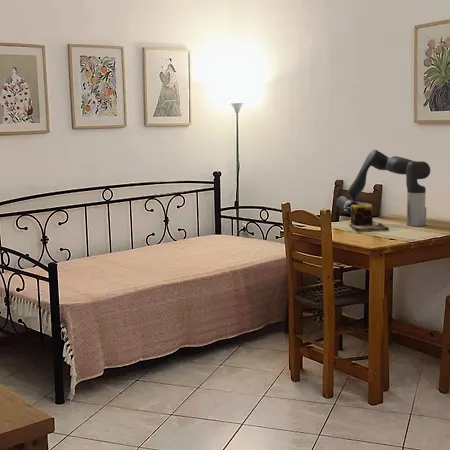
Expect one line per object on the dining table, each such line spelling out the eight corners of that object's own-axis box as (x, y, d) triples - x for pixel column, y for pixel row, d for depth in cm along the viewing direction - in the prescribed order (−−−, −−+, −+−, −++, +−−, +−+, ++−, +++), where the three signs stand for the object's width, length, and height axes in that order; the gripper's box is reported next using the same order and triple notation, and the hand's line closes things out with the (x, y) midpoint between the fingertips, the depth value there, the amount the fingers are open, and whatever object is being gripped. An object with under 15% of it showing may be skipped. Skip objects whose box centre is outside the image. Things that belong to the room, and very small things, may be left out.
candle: (372, 225, 368) (373, 206, 366) (353, 225, 368) (353, 207, 366) (369, 222, 378) (369, 204, 376) (350, 222, 378) (350, 204, 376)
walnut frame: (380, 225, 366) (380, 222, 366) (388, 230, 351) (388, 227, 351) (349, 226, 365) (349, 223, 365) (356, 231, 350) (356, 228, 350)
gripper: (340, 201, 393) (347, 204, 376) (363, 200, 394) (371, 204, 377) (340, 214, 394) (347, 218, 377) (363, 213, 395) (371, 218, 378)
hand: (359, 211), depth 377 cm, fingers closed
